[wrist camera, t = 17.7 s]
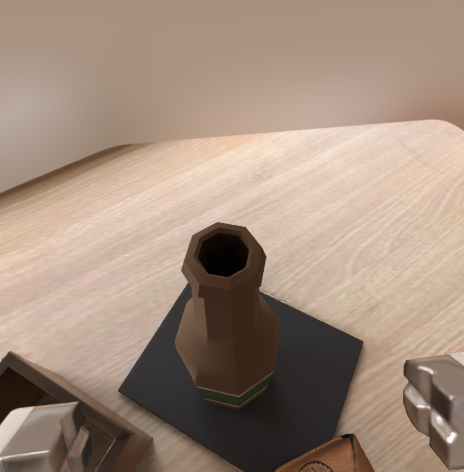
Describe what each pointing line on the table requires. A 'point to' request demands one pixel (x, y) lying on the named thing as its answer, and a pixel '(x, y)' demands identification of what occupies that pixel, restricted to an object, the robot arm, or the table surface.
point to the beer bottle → (227, 317)
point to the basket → (43, 380)
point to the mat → (265, 405)
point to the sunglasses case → (331, 457)
